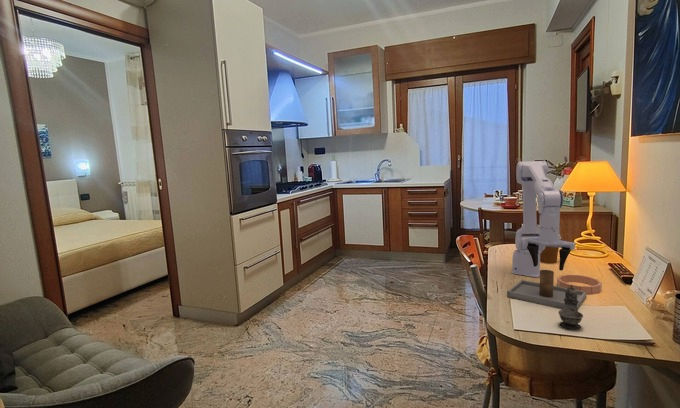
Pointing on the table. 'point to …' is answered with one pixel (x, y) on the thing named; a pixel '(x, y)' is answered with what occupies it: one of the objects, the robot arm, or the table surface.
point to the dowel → (546, 283)
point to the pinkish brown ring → (592, 289)
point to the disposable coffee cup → (549, 254)
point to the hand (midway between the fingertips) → (548, 267)
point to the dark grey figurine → (570, 311)
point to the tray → (531, 294)
